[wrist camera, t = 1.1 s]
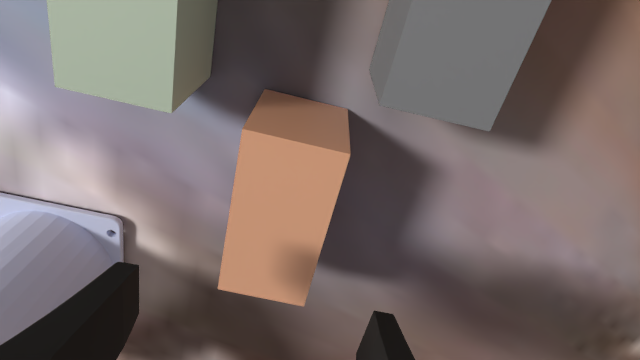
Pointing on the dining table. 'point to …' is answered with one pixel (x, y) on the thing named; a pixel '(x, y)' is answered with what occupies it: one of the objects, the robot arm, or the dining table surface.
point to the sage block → (133, 48)
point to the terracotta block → (283, 196)
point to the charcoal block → (453, 56)
